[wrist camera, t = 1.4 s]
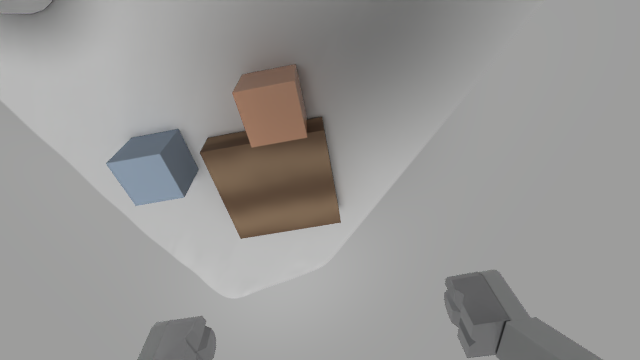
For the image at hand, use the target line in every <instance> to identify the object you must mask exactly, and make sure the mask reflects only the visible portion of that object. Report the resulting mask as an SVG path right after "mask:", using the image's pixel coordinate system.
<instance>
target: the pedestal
mask: <svg viewBox="0 0 640 360" xmlns="http://www.w3.org/2000/svg"><path fill="white" fill-rule="evenodd" d="M200 154H201V156H202V158H203V160H204V162H205V165H206V167H207V169H208V171H209V173H210V175H211V177H212V179H213V181H214V183H215V186H216V188H217V190H218V192H219V194H220V196H221V198H222V200H223V202H224V204H225V207H226V209H227V211H228V213H229V215H230V217H231V219H232V221H233V223H234V225H235V228H236V230H237V232H238V234H239V236H240V238H241V239H242V238H248V237H254V236H260V235H266V234H273V233H279V232H285V231H291V230H297V229H303V228H310V227H316V226H322V225H328V224H334V223H340V222H341V220H340V214H339V208H338V202H337V196H336V191H335V185H334V180H333V174H332V169H331V163H330V158H329V152H328V147H327V141H326V136H325V130H324V125H323V119H322V117H319V118H314V119H308V120H307V138H302V139H297V140H291V141H286V142H280V143H274V144H269V145H263V146H258V147H251V145H250V142H249V139H248V136H247V133H246V131H243V132H237V133H232V134H227V135H221V136H216V137H210V138H208V139H207V140H206V142H205V144H204V146H203V148H202V150H201V151H200Z"/></svg>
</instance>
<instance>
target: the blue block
mask: <svg viewBox="0 0 640 360" xmlns="http://www.w3.org/2000/svg"><path fill="white" fill-rule="evenodd" d="M106 164H107V166H108V167H109V169H110V170H111V171H112V173H113V174H114V176H115V177H116V178H117V180H118V181H119V183H120V184H121V186H122V187H123V188H124V190H125V191H126V193H127V194H128V195H129V197H130V198H131V200H132V201H133V202H134V204H135V205H136V206H137V205H143V204H149V203H154V202H160V201H166V200H172V199H178V198H183V197H185V195H186V193H187V191H188V189H189V187H190V185H191V183H192V181H193V179H194V177H195V176H196V174H197V172H198V170H199V169H198V167H197V165H196V163H195V161H194V159H193V157H192V155H191V153H190V151H189V149H188V147H187V145H186V143H185V141H184V139H183V137H182V135H181V133H180V131H179V129H176V130H171V131H165V132H160V133H155V134H149V135H144V136H139V137H133V138H131V139H130V140H129V141H128V142H127V143H126V144H125V145H124V146H123V147H122V148H121V149H120V150H119V151H118V152H117V153H116V154H115V155H114V156H113V157H112V158H111V159H110V160H109V161H108V162H107V163H106Z"/></svg>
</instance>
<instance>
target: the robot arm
mask: <svg viewBox="0 0 640 360" xmlns="http://www.w3.org/2000/svg"><path fill="white" fill-rule="evenodd" d="M445 282H446V283H445V285H446V287H447V289H448V290H447V291H446V292H445V294H444V300H445V305H446V309H447V312H448V315H449V318H450V320H451V322H452V323H453V324H454V325H456V326H457V327H458V328H459V329H458V338H459V340H460V343H461V345H462V347H463V349H464V352H465V354H466V356H467V358H471V357H480V356H489V355H496V357H497V358H499V359H500V360H603V359H601V358H599V357H598V356H596V355H595V354H593V353H592V352H590V351H588V350H587V349H585V348H583V347H582V346H580V345H579V344H577V343H576V342H574V341H573V340H571V339H569V338H568V337H566V336H565V335H563V334H562V333H560V332H559V331H557V330H555V329H554V328H552V327H551V326H549V325H547V324H546V323H544V322H542V321H541V320H539V319H538V318H536V317H534V318H531V317H530V316H529V315H528V313H527V312H526V310H525V309H524V307H523V306H522V304H521V303H520V302H519V300H518V299H517V297H516V296H515V294H514V293H513V291H512V290H511V288H510V287H509V286H508V284H507V283H506V281H505V280H504V278H503V277H502V276H501V274H500V273H499V272H498V271H497V270H488V271H482V272H474V273H468V274H462V275H456V276H451V277H447V278H446V281H445ZM205 324H206V320H205V319H204V318H203V316H198V317H191V318H184V319H177V320H169V321H163V322H157V323H156V324H155V325H154V326H153V327H152V328H151V330H150V333H149V335H148V337H147V339H146V342H145V344H144V346H143V349H142V351H141V353H140V355H139V357H138V360H212V359H213V358H214V354H215V349H216V337H215V334H214V332H213V330H212V329H211V328H209V327H207V326H205Z"/></svg>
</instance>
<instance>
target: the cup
mask: <svg viewBox="0 0 640 360" xmlns="http://www.w3.org/2000/svg"><path fill="white" fill-rule="evenodd" d="M51 2H52V0H0V14H33V13H36V12H39V11H42V10H44V9H45V8H46V7H47V6H48V5H49V4H50V3H51Z"/></svg>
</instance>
